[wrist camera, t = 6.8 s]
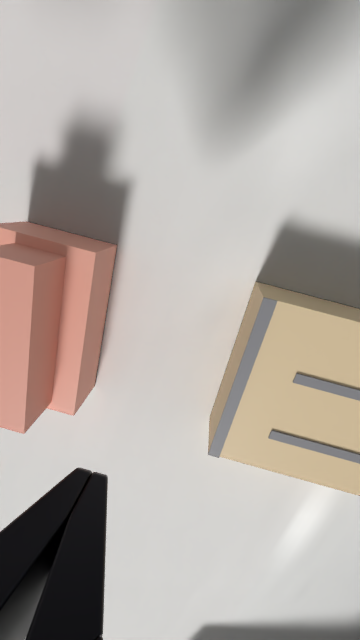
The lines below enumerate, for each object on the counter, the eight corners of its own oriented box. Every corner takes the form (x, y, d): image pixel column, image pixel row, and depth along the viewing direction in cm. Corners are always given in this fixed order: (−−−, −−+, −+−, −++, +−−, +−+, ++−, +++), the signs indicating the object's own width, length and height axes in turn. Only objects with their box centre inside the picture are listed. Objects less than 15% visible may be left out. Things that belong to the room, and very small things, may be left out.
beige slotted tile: (445, 331, 16) (496, 359, 13) (366, 460, 19) (392, 506, 16) (255, 281, 16) (263, 297, 13) (209, 417, 19) (208, 454, 16)
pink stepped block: (117, 245, 16) (69, 262, 11) (94, 385, 19) (50, 449, 14) (27, 221, 16) (-61, 227, 11) (19, 365, 20) (-52, 421, 14)
